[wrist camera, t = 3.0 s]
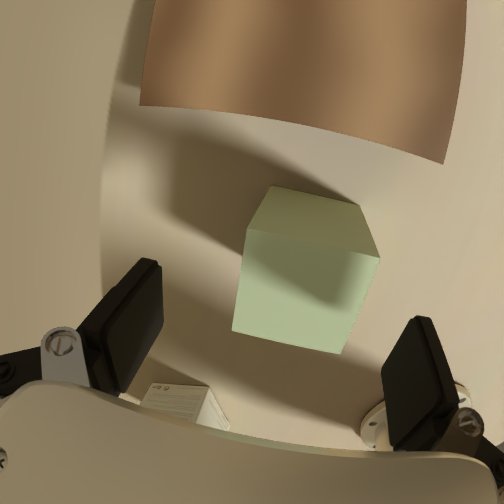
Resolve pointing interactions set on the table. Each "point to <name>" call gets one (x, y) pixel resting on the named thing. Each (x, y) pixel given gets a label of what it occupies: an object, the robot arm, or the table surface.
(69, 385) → the robot arm
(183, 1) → the walnut riser block
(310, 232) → the sage block
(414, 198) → the table surface
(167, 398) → the supplement box
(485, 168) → the table surface
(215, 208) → the table surface
